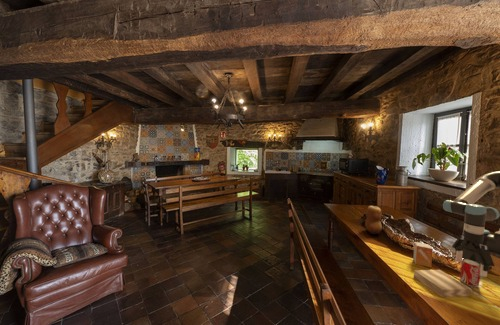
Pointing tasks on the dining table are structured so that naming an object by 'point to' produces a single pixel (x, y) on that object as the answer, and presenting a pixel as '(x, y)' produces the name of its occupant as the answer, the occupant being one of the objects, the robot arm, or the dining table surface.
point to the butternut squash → (373, 219)
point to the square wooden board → (442, 283)
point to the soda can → (470, 273)
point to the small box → (422, 254)
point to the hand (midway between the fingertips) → (470, 268)
